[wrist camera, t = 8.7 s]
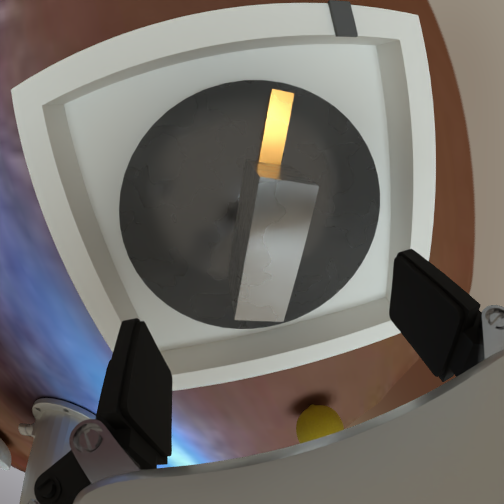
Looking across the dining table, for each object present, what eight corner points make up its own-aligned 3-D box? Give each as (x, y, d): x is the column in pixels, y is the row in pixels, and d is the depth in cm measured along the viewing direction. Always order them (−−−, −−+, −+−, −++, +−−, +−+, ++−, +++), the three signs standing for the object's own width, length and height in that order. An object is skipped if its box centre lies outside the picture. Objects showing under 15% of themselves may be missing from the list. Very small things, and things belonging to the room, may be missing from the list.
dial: (332, 318, 23) (361, 371, 18) (128, 307, 20) (111, 367, 15) (392, 118, 16) (453, 130, 11) (138, 70, 13) (103, 51, 8)
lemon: (302, 391, 31) (321, 448, 24) (340, 392, 33) (361, 443, 26) (282, 416, 33) (296, 468, 26) (319, 416, 35) (335, 464, 28)
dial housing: (147, 354, 25) (141, 396, 21) (48, 89, 14) (7, 88, 10) (392, 295, 26) (418, 328, 22) (380, 26, 15) (421, 13, 11)
